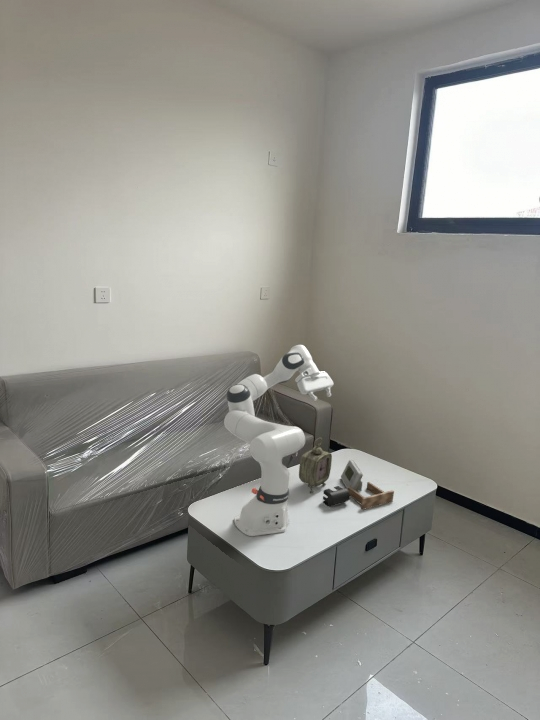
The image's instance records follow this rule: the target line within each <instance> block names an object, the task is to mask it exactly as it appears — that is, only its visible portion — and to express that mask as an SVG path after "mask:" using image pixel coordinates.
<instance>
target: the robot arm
mask: <svg viewBox="0 0 540 720" xmlns="http://www.w3.org/2000/svg"><path fill="white" fill-rule="evenodd" d="M296 372H299V375H298V376H297V377H296V378H295V379H294V382H295V383H296V385H297V388H298V390H299V392H300V394H302V395H303V396H304V395H308V396H309V397H310V398H312V400H313V402H315V401H317V400H318V399H319V398H318V396H317V395H315V394H314V393H315V392H319V391H320V392H321V391H323V390H325V392H326V396H327V398H329V397H331V396H332V393H331V388H332V387H333V386H334V381H333V380H332V378H331V376H330V375H329V374H328V373H327V372H326V371H320V370H319V368H318V367H317V365H316V363H315V362H314V361H313V356H312V355H311V353H310V351H309V350H308V348H307V347H306V346H305V345H303V344H296V345H293V346H292V347H291V348H290V350H289V351H288V352H287V353H286V354H284V355H283V356H282V357H281V358H280V360H279V362H277V364H276V365H275V366H274V368H273V369H272V371H271V372H270V373H268V374H266V375H264V376H262V375H260V374H258V373H254V374H250V375H249V376H247V377H245V378H243V379H242V380H240V381H239V382H238V383H236V384H233V385H231V387H228V389H227V390H226V401H227V405H228V412H227V413H226V415H225V417H224V421H223V424H224V426H225V429H226V430H227V431H229V432H230V433H231V434H232V435H234V436H235V437H236V438H238V439H240V440H241V441H243V442H244V443H247V444H249V452H250V455H251V457H252V458H253V459H254V460H255V461H256V462H257V463H258V464H259V465H260V470H261V474H260V475H261V477H260V478H261V479H260V486H259V488H258V489H257V488H256V487H253V488H252V489H251V493H253V494H254V495H255V496H254V497H253V498H251V500H249V501H248V502H247V503H245V504H244V505H243V506H242V508H241V511H240V514H238V515H236V516H235V517H234V519H233V522H234V524H235V526H236V527H237V529H238V530H239V531H240V532H241V533H243V534H245V536H249V537H254V536H255V537H256V536H261V535H269V534H270V535H272V534H278V533H284V532H286V530H287V526H288V525H289V523H290V518H289V512H288V510H289V509H288V500H289V497H290V489H289V483H290V470H289V469H288V468H287V466H286V465H284V464H283V458H284V457H287V456H290V455H292V454H293V455H294V454H296V453H297V452H298V451H300V450H301V449H302V448H304V446H305V444H306V436H305V433H304V431H303V429H301V428H300V427H298V426H296V425H295V426H293V425H291V426H290V425H285V424H279V423H277V422H276V423H275V422H271V421H266V420H263V419H261V418H259V417H257V416H256V415H255V408H254V401H256V400H257V399H259V398H260V397H261V396H262V395H264V394H265V393H266V392H267V390H269V389H270V388H272V387H275V386H276V385H278V384H285V383H287V382H289V381H290V380H292V377H293V376H294V374H296Z"/></svg>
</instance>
